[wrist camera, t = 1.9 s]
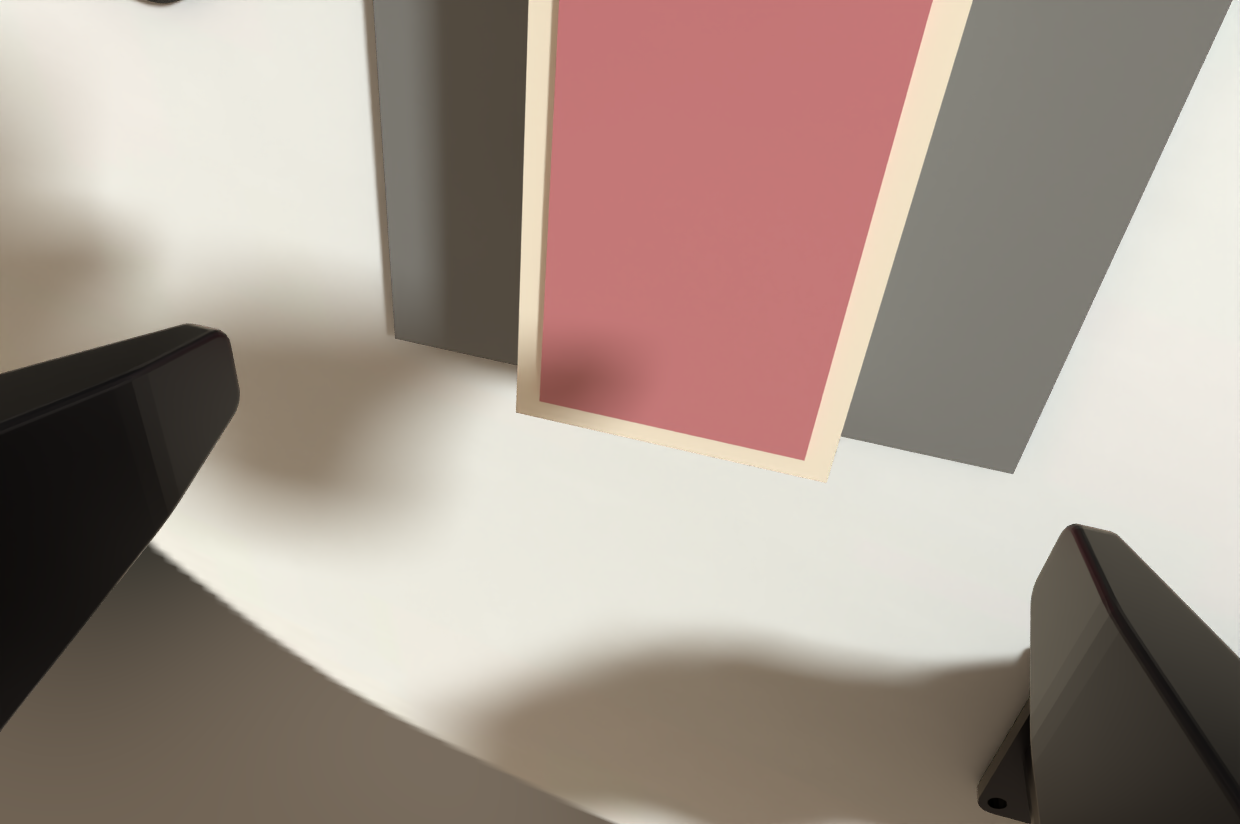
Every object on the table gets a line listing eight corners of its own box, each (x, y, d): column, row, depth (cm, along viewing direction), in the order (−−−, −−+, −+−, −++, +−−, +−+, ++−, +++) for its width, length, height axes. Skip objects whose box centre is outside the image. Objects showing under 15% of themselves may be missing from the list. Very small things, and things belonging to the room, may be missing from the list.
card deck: (834, 394, 19) (825, 488, 16) (561, 336, 20) (513, 416, 17) (974, -91, 13) (994, -65, 11) (592, -141, 14) (528, -128, 12)
